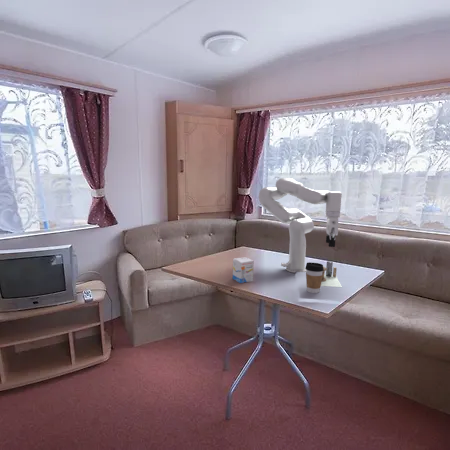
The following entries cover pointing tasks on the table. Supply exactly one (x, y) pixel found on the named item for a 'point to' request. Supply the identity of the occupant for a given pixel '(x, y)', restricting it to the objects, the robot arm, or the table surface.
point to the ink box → (243, 269)
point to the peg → (329, 268)
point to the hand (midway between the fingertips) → (330, 244)
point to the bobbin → (323, 275)
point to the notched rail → (333, 271)
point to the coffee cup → (314, 277)
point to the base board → (331, 282)
